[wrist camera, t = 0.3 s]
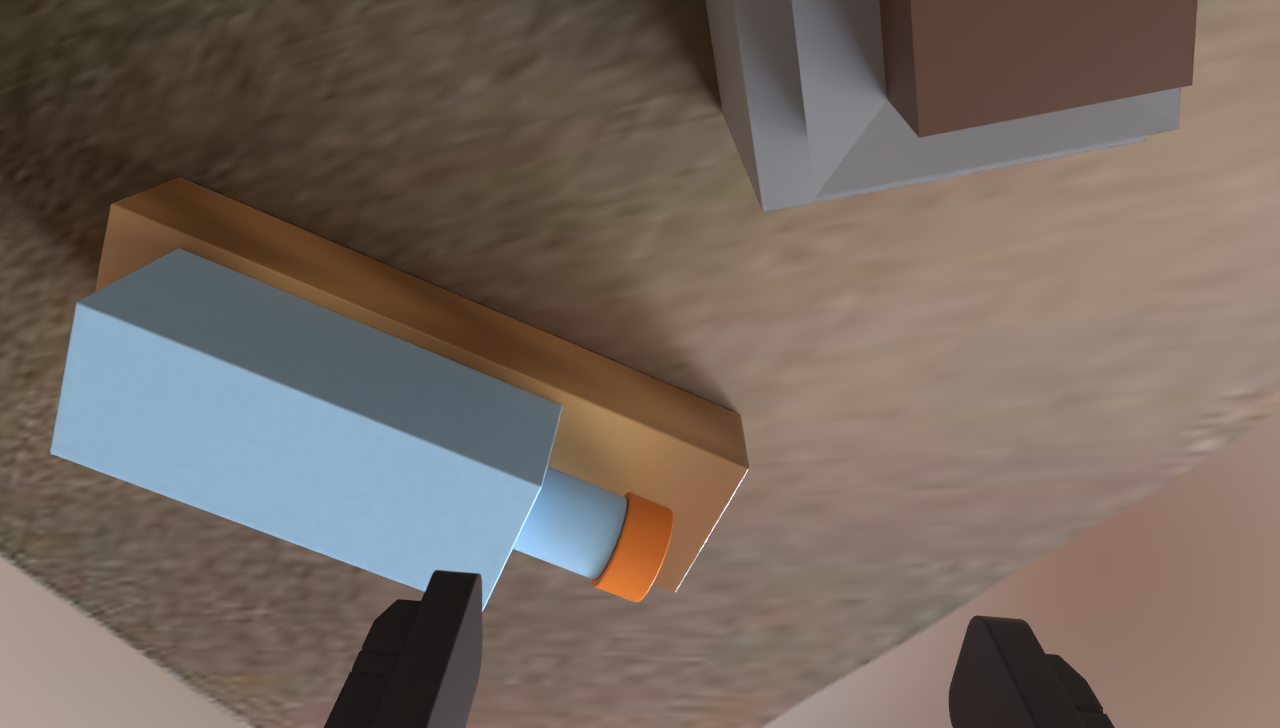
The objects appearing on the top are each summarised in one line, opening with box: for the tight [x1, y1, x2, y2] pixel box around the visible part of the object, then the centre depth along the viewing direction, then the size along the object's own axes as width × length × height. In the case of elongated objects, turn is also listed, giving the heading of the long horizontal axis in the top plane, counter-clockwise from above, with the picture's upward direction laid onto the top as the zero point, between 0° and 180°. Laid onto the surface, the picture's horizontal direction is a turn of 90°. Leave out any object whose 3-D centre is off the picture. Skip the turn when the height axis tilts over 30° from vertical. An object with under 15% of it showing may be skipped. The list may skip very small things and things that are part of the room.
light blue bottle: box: [50, 248, 673, 611], centre depth 26 cm, size 18×5×5 cm, turn 66°
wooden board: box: [95, 177, 749, 593], centre depth 30 cm, size 22×6×4 cm, turn 66°
